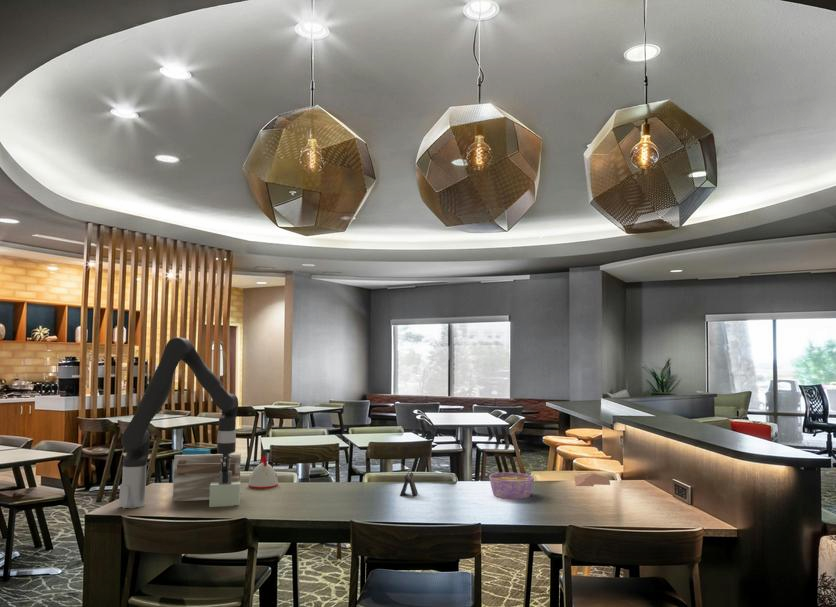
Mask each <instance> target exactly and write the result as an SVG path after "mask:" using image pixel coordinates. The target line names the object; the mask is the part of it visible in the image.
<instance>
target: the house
mask: <svg viewBox="0 0 836 607" xmlns="http://www.w3.org/2000/svg"><path fill="white" fill-rule="evenodd" d="M573 478H574V484H575V487H594V486H611V480H610V478H609V477H607V476H603V475H601V474H596V473H594V472H592V473H587V474H581V475H574V477H573Z"/></svg>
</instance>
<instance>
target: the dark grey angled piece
mask: <svg viewBox="0 0 836 607" xmlns="http://www.w3.org/2000/svg"><path fill="white" fill-rule="evenodd" d="M408 484H409V487H410V491H411V496H412V497H417V496H418V494H419V492H418V490H417V489H418V488H417V486H416V483H415V481H414V473H413V472H407V473H406V475H405V476H404V483H403V486H402V489H401V491H400V495H399V497H404V496H405V495H406V492H407V488H408Z"/></svg>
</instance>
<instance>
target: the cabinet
mask: <svg viewBox="0 0 836 607" xmlns="http://www.w3.org/2000/svg"><path fill="white" fill-rule="evenodd" d="M222 475H223V474H222V473H221V472H219V476H215V478H214V482H211V484H210V498H209V500H208V502H209V503H208V504H209V506H208V507H209V508H214V507H215V508H218V507H232V506H233V507H235V506H234V505H238V506H240V503H241V495H240V493H241V486H242V485H241V484H242V482H241V481H242V480H240V481H239V476H232V471H231V472H229V473H228V483H222Z"/></svg>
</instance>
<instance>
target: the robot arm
mask: <svg viewBox="0 0 836 607" xmlns="http://www.w3.org/2000/svg"><path fill="white" fill-rule="evenodd" d="M181 361H182V362H183V363H184V364H185V365H187V366H188V367H189V368H190V370H191V371H192V373H193V374H194V376H195V378H196V380H197V382H198V383H199V384H200V385H201V387H202V388H203V389H204V391H206V392H207V393H208V394H209V396H210V398H211V399H212V401H213V403H214V404H215V406H216V407H217V408H218V409H219V410H221V416H220V417H219V418H218V427H217V428H218V430H217V440H216V441H217V442H216V443H217V445H216V447H217V448H216V452H217V454H223V457H221V469H222V472H221V473H222V474H223V475H222V483H228V473H229V470H230V469H229V468H230V461H231V456H230V454H235V453H236V447H237V446H236V442H237V436H236V435H237V434H236V433H237V432H236V419H237V417H238V416H237V415H238V410H239V399H238V397H237V395H236V394H234V393H228V392H227V391H226V390H225V388H224V384H223V383H222V381H221V380H220V379H219V377H218V376H217V375H216V374H215V373H214V372H213V371H212V370H211V369H210V368H209V366H208V365H207V364H206V363H205V361H204V360H203V359H202V358H201V356H200V355H199V352H197V349H196V348H195V346H194V345H193V343H192V342H191V341H190V340H189V339H188V338H186V337H178V336H176V337H172V338H171V339H169V341H167V343H166V345H165V347H164V350H163V352H162V356H161V357H160V360H159V363H158V366H157V367H156V369H155V372H154V373H153V375H152V377H151V378H150V381H149V383H148V384H147V387H146V389H145V391H144V393H143V395H142V398H141V400H140V402H139V403H138V407H137V408H136V411H135V412H134V415H133V417H132V419H131V420H130V421H129V423H128V425H127V426H126V428H125V430H124V431H123V432H122V435H121V438H120V440H121V442H120V443H121V446H122V447H123V449H125V450H126V455H125V456H124V458H123V460H122V477H121V479H122V481H121V484H119V496H118V497H119V498H118V500H119V502H118V507H119V506H120V507H124V508H131V509H137V508H136V507H139V508H142V506H143V507H145V506H144V505H146V486H147V485H146V483H147V463H148V459H149V454H150V444H151V443H150V442H151V441H150V440H151V439H150V438H151V437H150V432H149V430H148V428H149V425H150V424H151V421H153V419H154V418H155V416H156V415H157V414H158V413H159V411H160V410H161V409H162V407H164V404H165V403H166V401H167V399H168V397H169V395H170V392H171V390H172V385H173V381H174V375H175V374H174V373H175V371H176V370H177V367H178V365H179V363H180V362H181ZM120 507H119V508H120ZM124 508H123V509H124Z"/></svg>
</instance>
